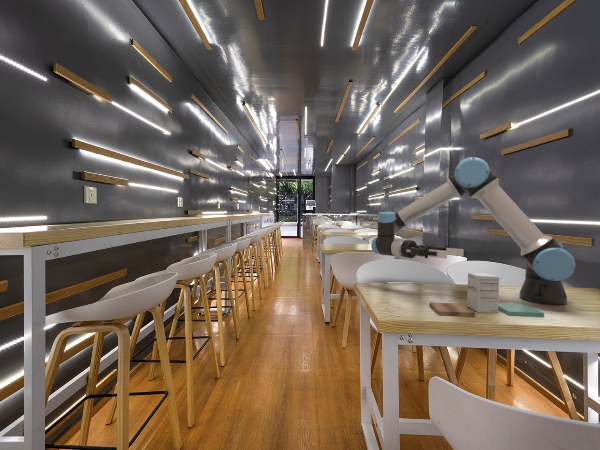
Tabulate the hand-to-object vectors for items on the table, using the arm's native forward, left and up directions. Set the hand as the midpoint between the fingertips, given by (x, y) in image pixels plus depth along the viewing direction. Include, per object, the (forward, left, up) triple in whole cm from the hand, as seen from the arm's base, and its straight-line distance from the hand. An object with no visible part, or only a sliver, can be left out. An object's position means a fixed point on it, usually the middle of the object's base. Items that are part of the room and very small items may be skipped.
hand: (455, 253), depth 120 cm
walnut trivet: (+5, +11, -19) cm, 23 cm away
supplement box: (-7, +7, -19) cm, 21 cm away
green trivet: (-18, +8, -19) cm, 28 cm away
